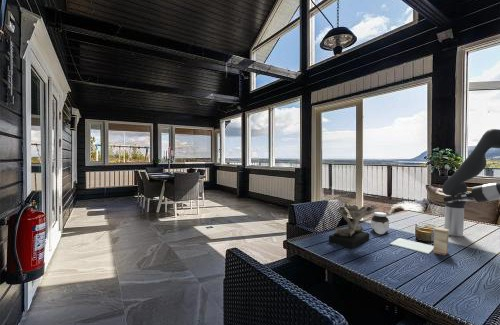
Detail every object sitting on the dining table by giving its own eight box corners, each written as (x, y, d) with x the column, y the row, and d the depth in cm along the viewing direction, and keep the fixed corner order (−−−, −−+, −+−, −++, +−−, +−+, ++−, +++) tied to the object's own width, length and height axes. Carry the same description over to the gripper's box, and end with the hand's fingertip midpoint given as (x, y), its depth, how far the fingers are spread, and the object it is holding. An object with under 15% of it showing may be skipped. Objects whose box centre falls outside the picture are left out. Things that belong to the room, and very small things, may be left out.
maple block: (435, 250, 135) (436, 227, 135) (447, 252, 132) (448, 229, 131) (433, 252, 132) (434, 229, 131) (445, 255, 128) (446, 231, 128)
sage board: (398, 238, 152) (399, 237, 152) (435, 247, 139) (435, 246, 139) (389, 244, 143) (389, 243, 143) (428, 254, 130) (428, 253, 130)
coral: (349, 232, 163) (350, 198, 162) (383, 241, 148) (384, 204, 147) (327, 241, 146) (328, 204, 145) (363, 252, 131) (364, 210, 130)
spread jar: (382, 229, 172) (383, 211, 171) (395, 234, 160) (395, 215, 160) (366, 229, 169) (366, 212, 169) (377, 235, 158) (378, 216, 158)
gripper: (491, 185, 123) (452, 193, 136) (477, 184, 116) (438, 192, 130) (497, 200, 121) (457, 207, 134) (484, 200, 114) (443, 207, 127)
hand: (448, 200), depth 132 cm, fingers open, 8 cm apart
